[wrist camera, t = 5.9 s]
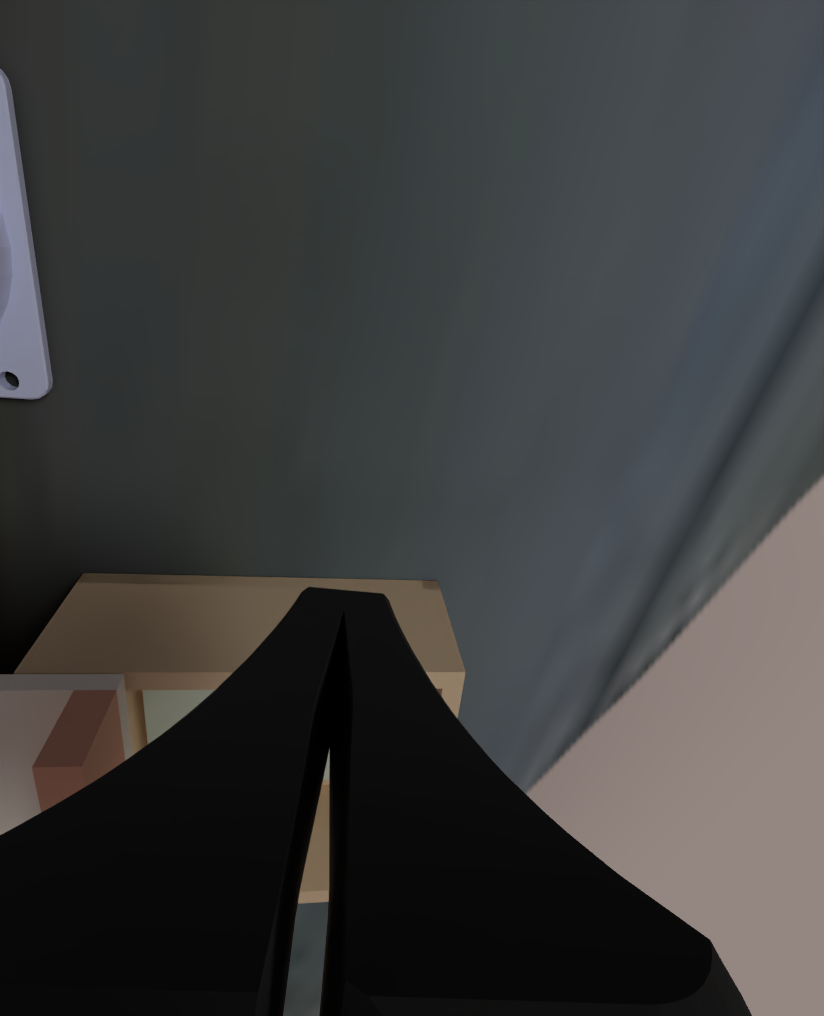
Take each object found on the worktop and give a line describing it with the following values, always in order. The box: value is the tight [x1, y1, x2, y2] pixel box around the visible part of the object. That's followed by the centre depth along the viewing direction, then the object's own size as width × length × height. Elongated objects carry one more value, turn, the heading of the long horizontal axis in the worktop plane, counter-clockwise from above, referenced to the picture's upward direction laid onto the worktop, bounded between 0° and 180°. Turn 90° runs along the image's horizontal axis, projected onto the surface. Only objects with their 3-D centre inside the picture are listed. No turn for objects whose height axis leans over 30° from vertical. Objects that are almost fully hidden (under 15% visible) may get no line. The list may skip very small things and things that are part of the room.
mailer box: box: [14, 573, 465, 903], centre depth 21 cm, size 12×10×5 cm
